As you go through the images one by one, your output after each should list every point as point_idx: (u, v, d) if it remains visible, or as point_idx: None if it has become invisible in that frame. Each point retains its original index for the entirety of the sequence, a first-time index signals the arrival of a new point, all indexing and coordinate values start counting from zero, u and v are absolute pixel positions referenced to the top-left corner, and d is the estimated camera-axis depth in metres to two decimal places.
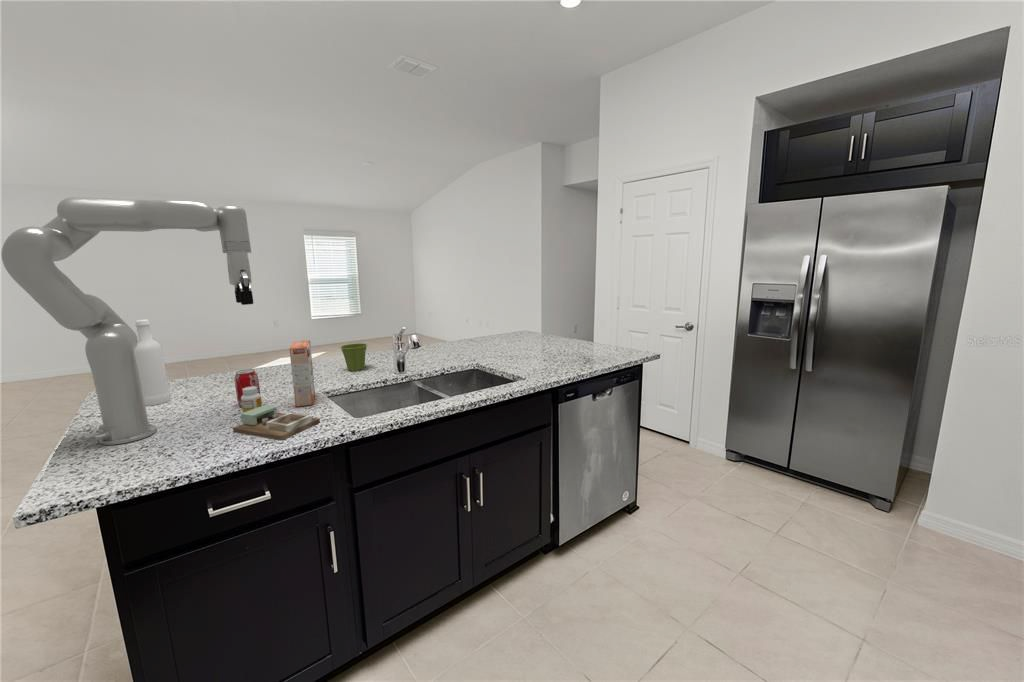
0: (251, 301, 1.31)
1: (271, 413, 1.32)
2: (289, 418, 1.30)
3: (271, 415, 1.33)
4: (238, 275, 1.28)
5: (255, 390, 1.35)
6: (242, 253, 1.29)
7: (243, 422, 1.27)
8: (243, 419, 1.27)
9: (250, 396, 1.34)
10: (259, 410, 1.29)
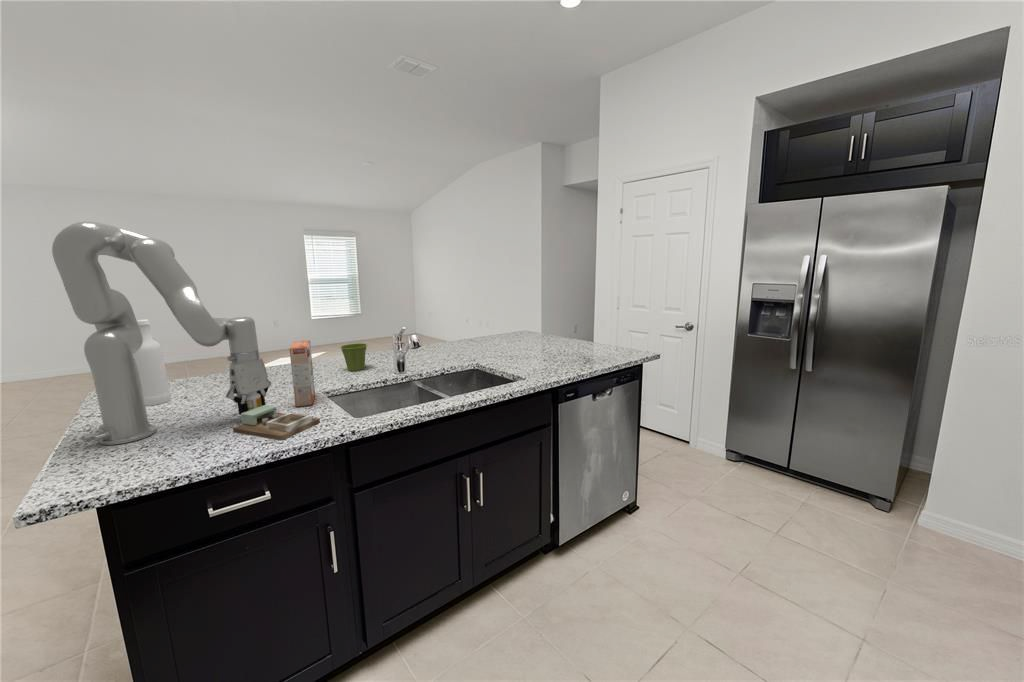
0: None
1: (271, 413, 1.32)
2: (289, 418, 1.30)
3: (271, 415, 1.33)
4: None
5: None
6: None
7: (243, 422, 1.27)
8: (243, 419, 1.27)
9: (250, 396, 1.34)
10: (259, 410, 1.29)
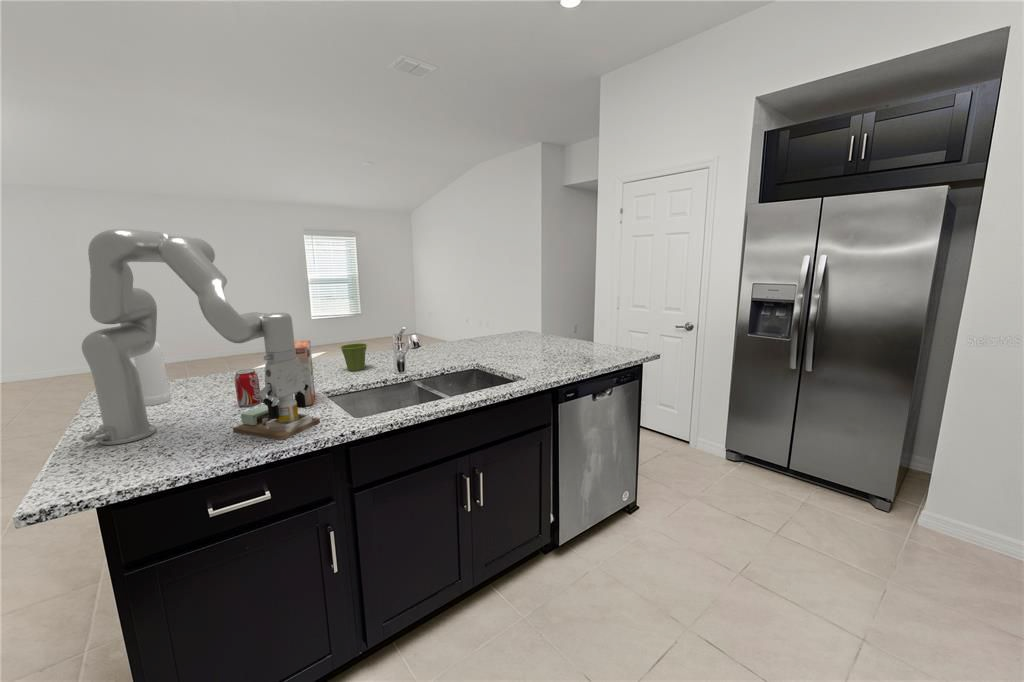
0: None
1: None
2: None
3: None
4: None
5: (291, 396, 1.24)
6: None
7: (243, 422, 1.27)
8: (243, 419, 1.27)
9: (286, 403, 1.23)
10: (259, 410, 1.29)
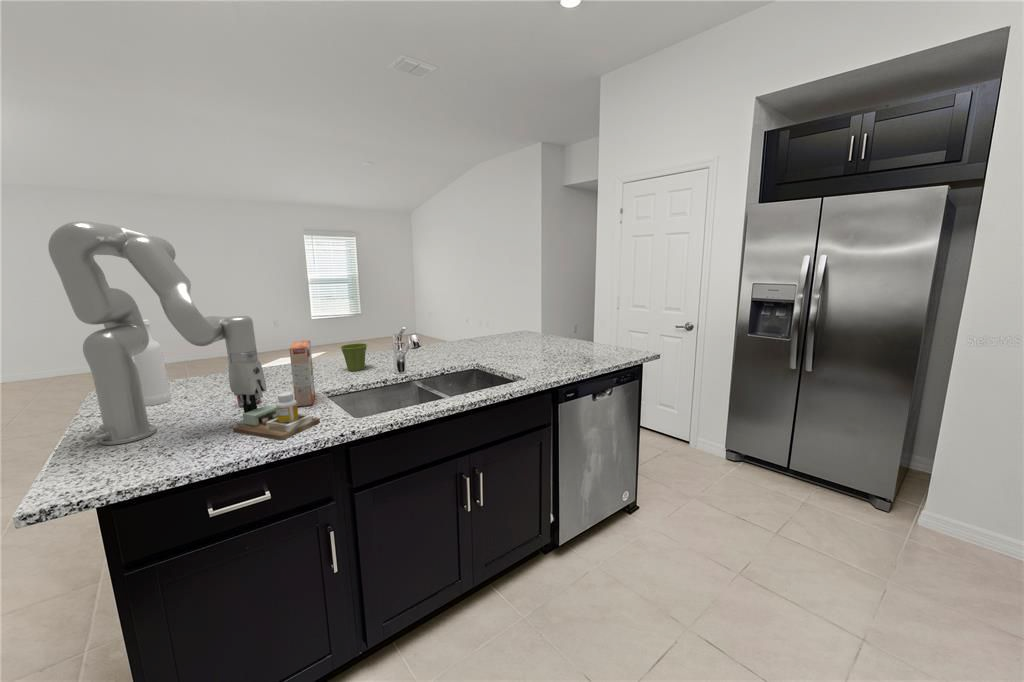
0: None
1: (273, 413, 1.32)
2: None
3: None
4: None
5: (291, 396, 1.24)
6: None
7: (245, 422, 1.27)
8: (245, 419, 1.27)
9: (286, 403, 1.23)
10: (261, 410, 1.29)
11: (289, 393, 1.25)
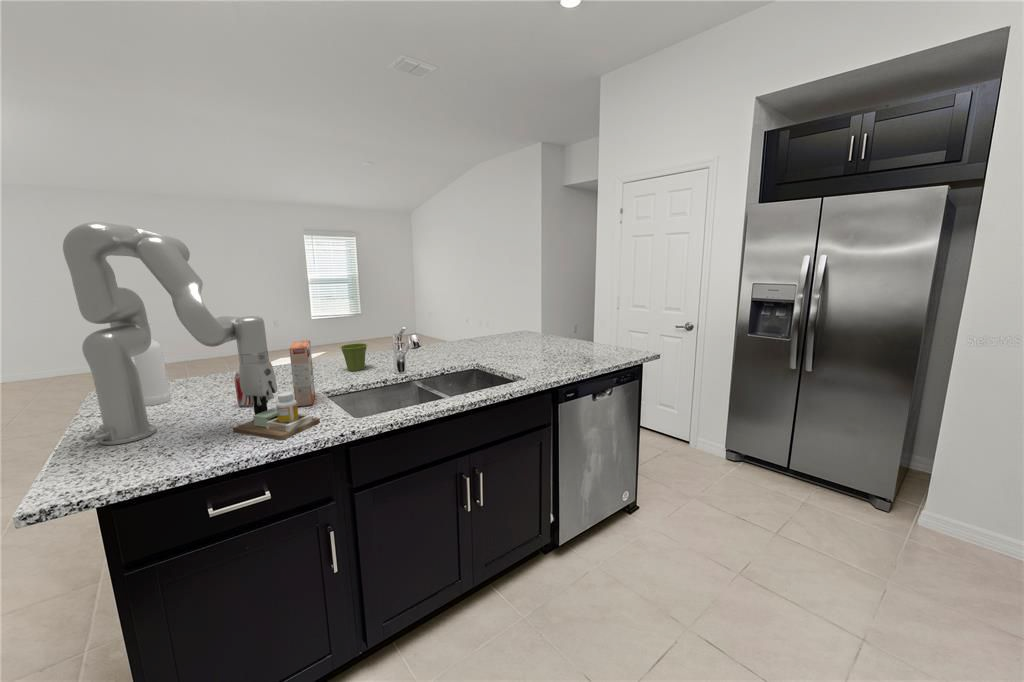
0: None
1: None
2: None
3: None
4: None
5: (291, 396, 1.24)
6: None
7: (255, 424, 1.26)
8: (255, 421, 1.25)
9: (286, 403, 1.23)
10: (271, 412, 1.28)
11: (289, 393, 1.25)
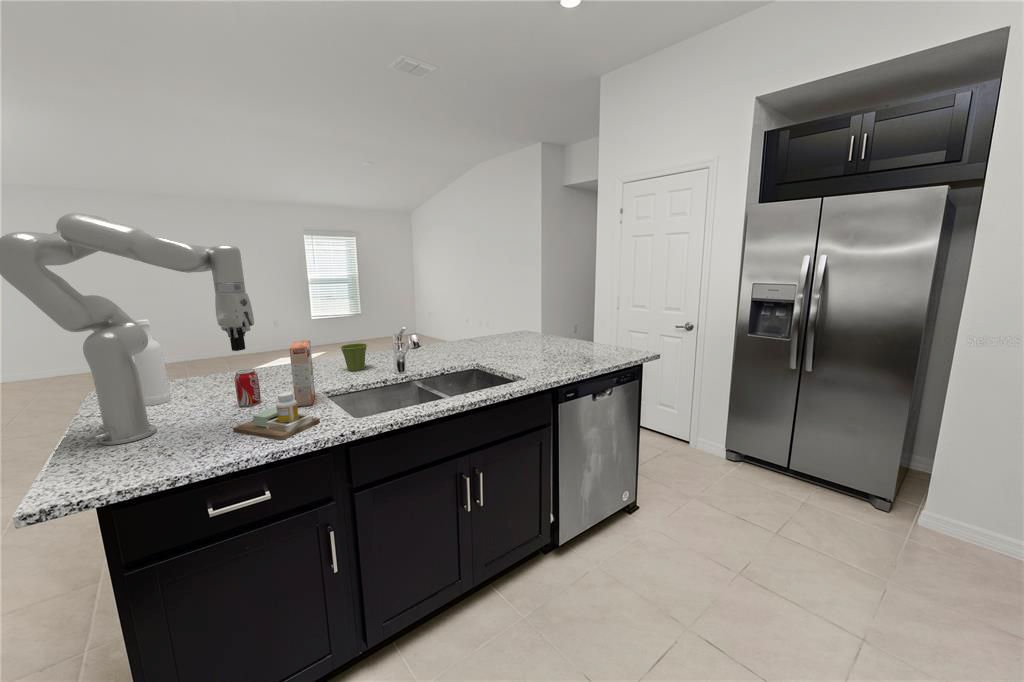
0: None
1: None
2: None
3: None
4: None
5: (291, 396, 1.24)
6: None
7: (255, 424, 1.26)
8: (255, 421, 1.25)
9: (286, 403, 1.23)
10: (271, 412, 1.28)
11: (289, 393, 1.25)
